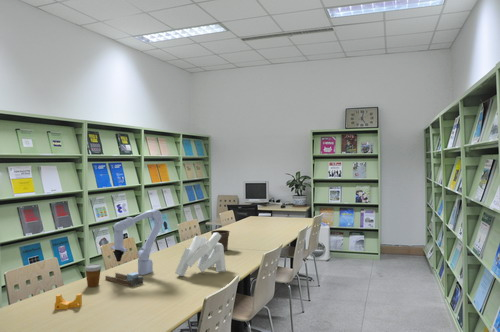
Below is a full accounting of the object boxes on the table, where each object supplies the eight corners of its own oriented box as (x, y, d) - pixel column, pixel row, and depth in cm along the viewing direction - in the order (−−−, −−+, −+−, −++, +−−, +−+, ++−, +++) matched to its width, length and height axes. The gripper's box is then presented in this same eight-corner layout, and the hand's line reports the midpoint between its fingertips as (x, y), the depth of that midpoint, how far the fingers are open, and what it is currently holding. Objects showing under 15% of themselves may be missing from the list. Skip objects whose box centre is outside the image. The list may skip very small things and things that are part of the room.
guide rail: (116, 276, 253) (116, 270, 253) (143, 282, 239) (143, 276, 239) (105, 279, 246) (105, 273, 246) (131, 286, 232) (131, 280, 232)
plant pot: (208, 249, 334) (208, 230, 334) (225, 247, 341) (225, 229, 341) (214, 253, 319) (214, 233, 319) (232, 251, 326) (232, 232, 326)
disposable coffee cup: (83, 288, 228) (83, 268, 228) (85, 283, 237) (85, 264, 237) (100, 287, 230) (100, 267, 230) (102, 282, 240) (102, 263, 240)
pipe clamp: (54, 309, 195) (54, 297, 195) (57, 306, 200) (57, 294, 200) (79, 308, 197) (79, 296, 197) (81, 305, 201) (81, 293, 201)
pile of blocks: (197, 291, 239) (223, 241, 241) (164, 267, 253) (189, 220, 255) (222, 290, 270) (245, 246, 272) (191, 268, 284) (214, 226, 286)
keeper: (133, 281, 241) (133, 272, 241) (138, 283, 239) (138, 273, 239) (126, 283, 237) (126, 274, 237) (132, 285, 234) (132, 275, 234)
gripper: (106, 240, 253) (106, 261, 254) (120, 243, 246) (120, 264, 246) (115, 238, 259) (115, 258, 259) (129, 241, 251) (129, 261, 252)
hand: (118, 261), depth 253 cm, fingers closed
